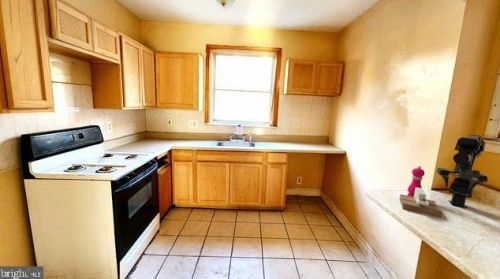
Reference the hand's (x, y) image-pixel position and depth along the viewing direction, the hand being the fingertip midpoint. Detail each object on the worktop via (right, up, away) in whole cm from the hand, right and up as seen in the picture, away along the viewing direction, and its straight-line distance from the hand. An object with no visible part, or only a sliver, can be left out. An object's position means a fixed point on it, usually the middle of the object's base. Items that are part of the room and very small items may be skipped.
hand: (457, 189), depth 115 cm
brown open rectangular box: (-17, -11, +4) cm, 21 cm away
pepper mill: (-10, -9, +17) cm, 22 cm away
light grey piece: (-17, -8, +4) cm, 19 cm away
